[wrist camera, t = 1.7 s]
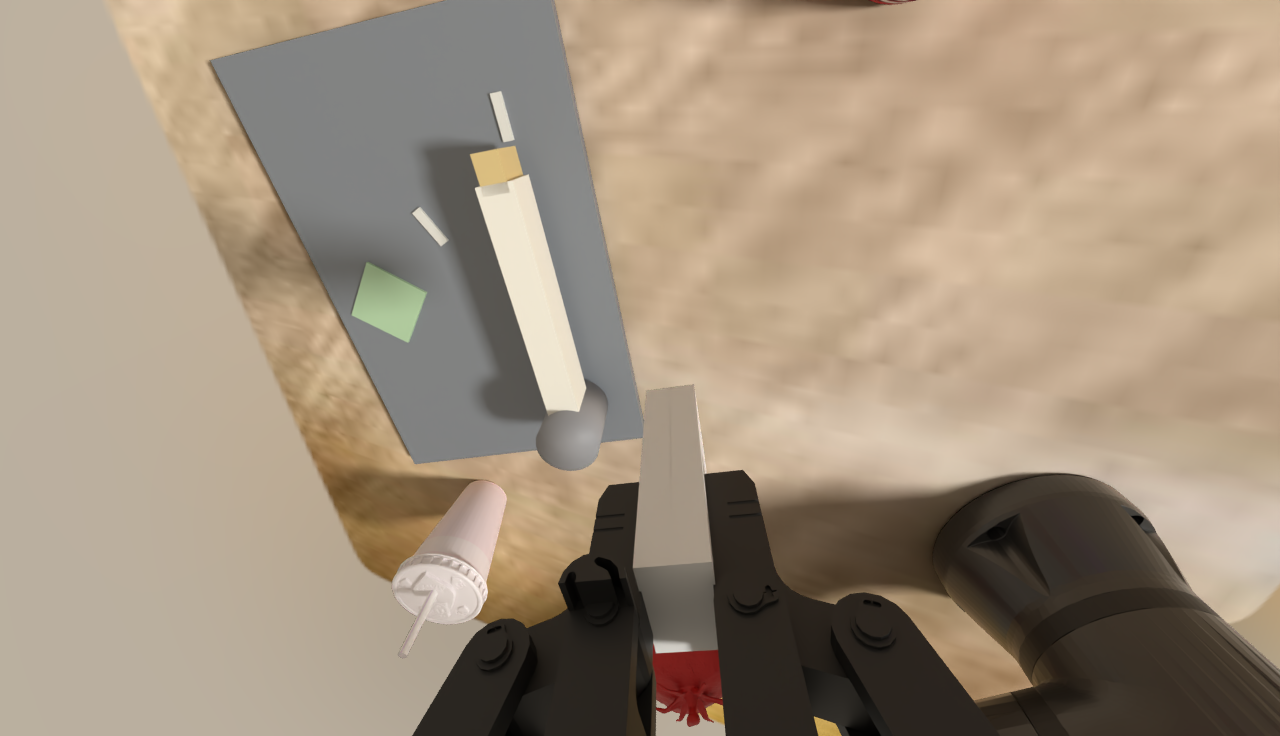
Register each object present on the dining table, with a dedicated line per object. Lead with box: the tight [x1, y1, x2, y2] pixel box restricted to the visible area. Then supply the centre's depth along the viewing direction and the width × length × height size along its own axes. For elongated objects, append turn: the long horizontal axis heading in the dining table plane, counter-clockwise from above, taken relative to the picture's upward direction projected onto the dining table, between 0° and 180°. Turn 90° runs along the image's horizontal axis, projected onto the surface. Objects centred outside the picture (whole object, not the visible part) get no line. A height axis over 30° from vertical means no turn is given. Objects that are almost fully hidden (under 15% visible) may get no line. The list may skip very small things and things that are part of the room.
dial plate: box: [210, 0, 644, 464], centre depth 31 cm, size 28×19×1 cm
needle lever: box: [470, 146, 608, 471], centre depth 28 cm, size 19×4×5 cm, turn 10°
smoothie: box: [392, 480, 507, 658], centre depth 34 cm, size 6×6×14 cm
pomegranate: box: [653, 643, 723, 727], centre depth 43 cm, size 10×10×9 cm
